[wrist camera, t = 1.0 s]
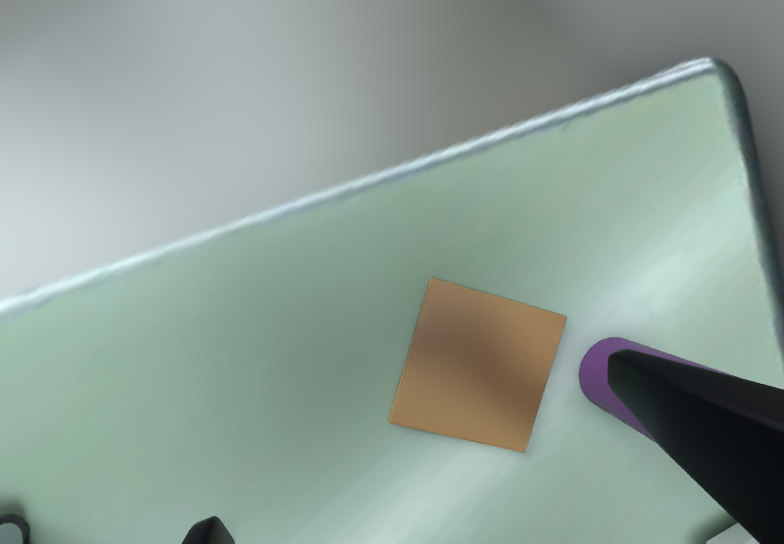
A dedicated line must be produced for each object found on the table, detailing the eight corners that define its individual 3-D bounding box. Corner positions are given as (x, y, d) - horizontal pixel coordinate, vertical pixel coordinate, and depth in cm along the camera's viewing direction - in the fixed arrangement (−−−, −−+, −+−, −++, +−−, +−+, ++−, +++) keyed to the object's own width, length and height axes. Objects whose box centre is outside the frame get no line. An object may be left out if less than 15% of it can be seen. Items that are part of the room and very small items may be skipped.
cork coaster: (522, 449, 26) (524, 453, 26) (388, 420, 25) (388, 423, 25) (563, 315, 26) (567, 316, 26) (430, 277, 25) (432, 277, 24)
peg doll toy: (631, 414, 27) (859, 547, 15) (570, 398, 27) (759, 527, 15) (653, 346, 27) (900, 429, 15) (591, 329, 26) (802, 401, 14)
